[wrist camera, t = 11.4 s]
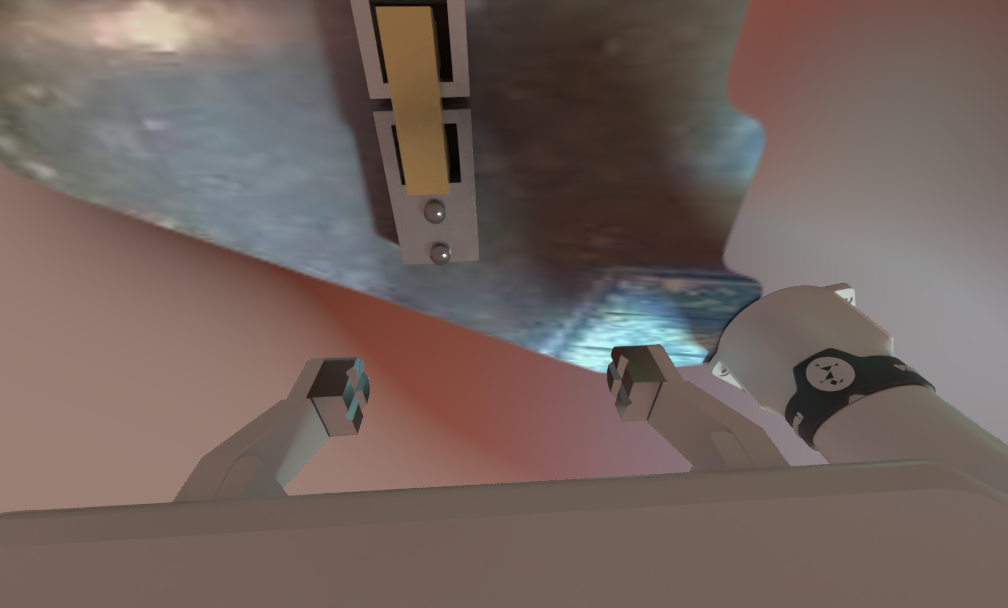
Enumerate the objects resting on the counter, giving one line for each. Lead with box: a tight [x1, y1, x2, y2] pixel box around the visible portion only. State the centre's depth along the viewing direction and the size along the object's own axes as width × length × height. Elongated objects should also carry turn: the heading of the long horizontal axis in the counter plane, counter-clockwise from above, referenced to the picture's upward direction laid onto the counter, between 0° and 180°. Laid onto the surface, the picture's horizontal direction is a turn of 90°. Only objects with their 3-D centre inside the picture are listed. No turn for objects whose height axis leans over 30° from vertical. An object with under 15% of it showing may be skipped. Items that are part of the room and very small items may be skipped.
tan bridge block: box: [375, 6, 450, 195], centre depth 26 cm, size 11×3×6 cm, turn 1°
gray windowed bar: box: [350, 0, 479, 265], centre depth 27 cm, size 26×7×4 cm, turn 1°
